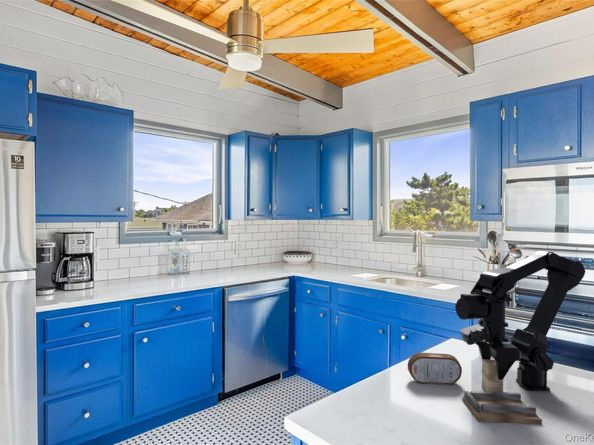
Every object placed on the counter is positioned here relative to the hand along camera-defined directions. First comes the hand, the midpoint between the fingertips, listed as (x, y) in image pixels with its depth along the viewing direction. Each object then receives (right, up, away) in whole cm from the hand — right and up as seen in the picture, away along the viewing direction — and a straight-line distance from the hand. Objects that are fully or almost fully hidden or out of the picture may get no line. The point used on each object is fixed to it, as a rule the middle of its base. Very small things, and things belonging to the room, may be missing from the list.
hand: (492, 372), depth 108 cm
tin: (-14, -5, +5) cm, 16 cm away
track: (-4, -5, -11) cm, 13 cm away
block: (0, -5, 0) cm, 5 cm away
